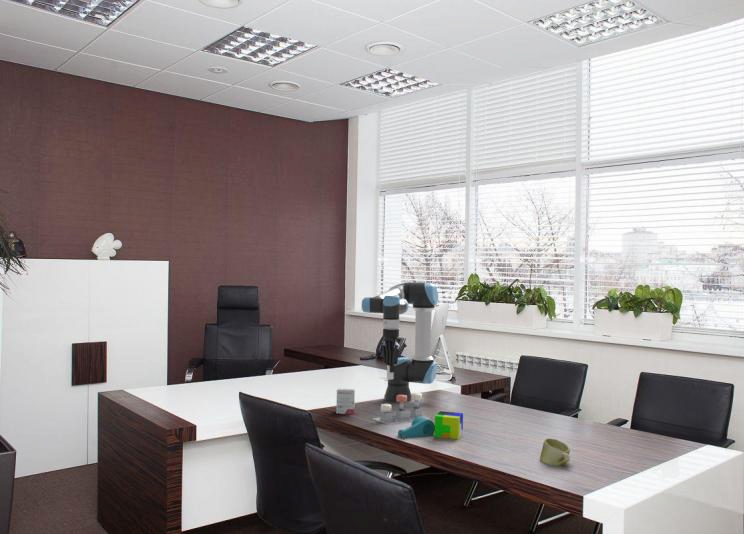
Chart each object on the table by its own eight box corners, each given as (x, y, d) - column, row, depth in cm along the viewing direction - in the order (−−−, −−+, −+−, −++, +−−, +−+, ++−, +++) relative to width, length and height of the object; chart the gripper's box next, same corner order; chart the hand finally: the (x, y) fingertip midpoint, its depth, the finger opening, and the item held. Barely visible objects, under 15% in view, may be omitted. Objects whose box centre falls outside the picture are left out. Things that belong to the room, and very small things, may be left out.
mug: (531, 451, 231) (545, 430, 228) (553, 462, 233) (568, 441, 230) (540, 470, 219) (555, 449, 217) (564, 482, 221) (579, 461, 218)
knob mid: (402, 408, 295) (402, 394, 295) (408, 410, 291) (409, 396, 291) (394, 409, 292) (394, 395, 292) (400, 411, 288) (400, 397, 288)
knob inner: (417, 406, 300) (417, 392, 300) (423, 408, 296) (424, 394, 296) (409, 407, 297) (409, 393, 297) (415, 409, 293) (415, 395, 293)
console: (412, 414, 304) (412, 404, 304) (429, 420, 293) (430, 409, 293) (372, 420, 290) (372, 409, 290) (388, 426, 279) (389, 415, 279)
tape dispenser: (434, 437, 264) (435, 419, 264) (404, 441, 257) (404, 422, 257) (426, 433, 270) (426, 415, 270) (396, 437, 263) (396, 418, 263)
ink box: (354, 412, 306) (355, 388, 306) (353, 414, 301) (354, 390, 301) (337, 411, 307) (338, 387, 307) (336, 413, 302) (336, 389, 302)
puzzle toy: (462, 436, 266) (463, 413, 266) (458, 442, 256) (458, 418, 256) (439, 434, 269) (440, 411, 269) (434, 439, 259) (434, 416, 260)
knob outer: (387, 417, 290) (387, 403, 290) (393, 419, 286) (393, 405, 286) (378, 418, 287) (378, 404, 287) (384, 421, 283) (384, 406, 283)
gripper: (376, 327, 291) (375, 377, 291) (392, 330, 280) (391, 382, 280) (389, 326, 295) (388, 376, 295) (405, 329, 284) (405, 380, 285)
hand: (390, 379), depth 288 cm, fingers closed
